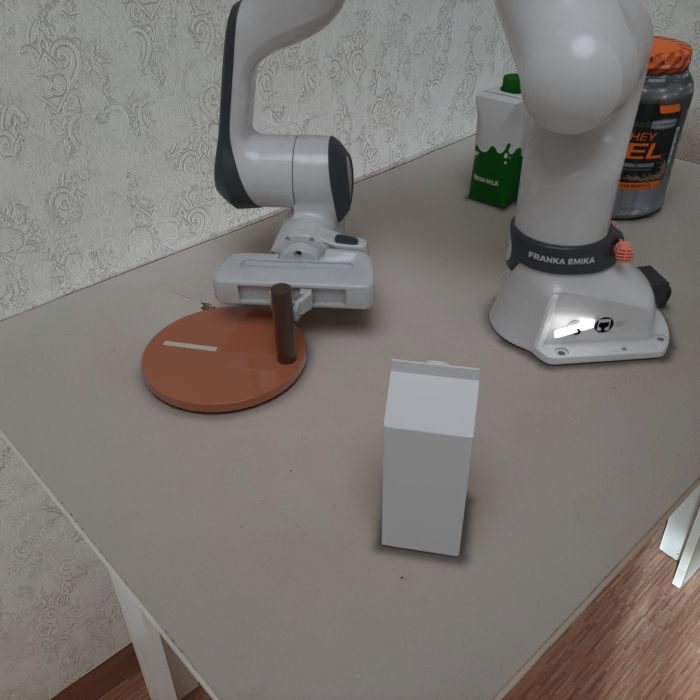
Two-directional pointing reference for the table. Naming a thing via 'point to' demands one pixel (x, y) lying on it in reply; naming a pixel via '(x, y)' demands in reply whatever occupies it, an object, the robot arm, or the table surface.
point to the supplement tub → (656, 129)
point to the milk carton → (427, 454)
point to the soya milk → (500, 142)
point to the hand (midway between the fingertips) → (285, 316)
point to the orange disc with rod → (226, 356)
